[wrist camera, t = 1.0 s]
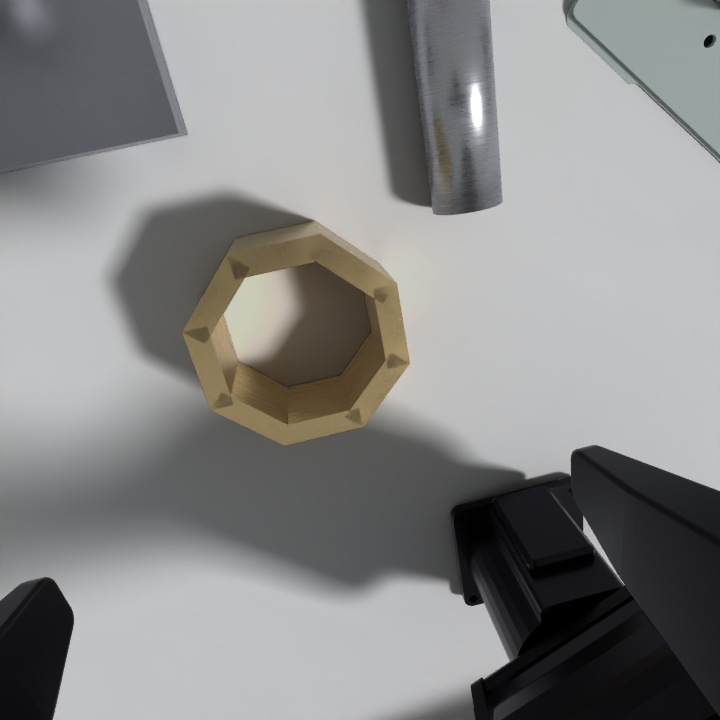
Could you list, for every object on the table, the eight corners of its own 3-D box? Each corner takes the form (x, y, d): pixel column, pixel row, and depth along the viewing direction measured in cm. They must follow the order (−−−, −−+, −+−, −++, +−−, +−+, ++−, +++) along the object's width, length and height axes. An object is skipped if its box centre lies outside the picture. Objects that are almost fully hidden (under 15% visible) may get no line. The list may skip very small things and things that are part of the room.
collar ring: (400, 378, 21) (417, 413, 18) (235, 417, 20) (228, 459, 17) (370, 208, 18) (386, 219, 15) (178, 250, 17) (158, 269, 15)
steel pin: (496, 195, 18) (508, 205, 16) (431, 207, 18) (434, 218, 16) (478, -77, 15) (488, -111, 13) (399, -56, 15) (396, -85, 13)
